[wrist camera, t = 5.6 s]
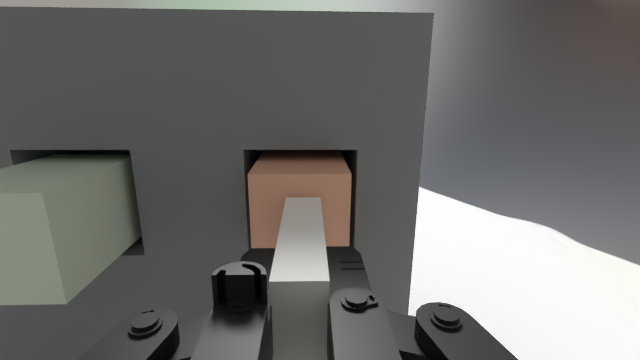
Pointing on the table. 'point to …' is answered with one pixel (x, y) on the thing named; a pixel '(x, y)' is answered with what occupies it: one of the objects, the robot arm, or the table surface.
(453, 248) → the table surface
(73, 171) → the sage key
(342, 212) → the terracotta key
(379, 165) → the keypad panel
